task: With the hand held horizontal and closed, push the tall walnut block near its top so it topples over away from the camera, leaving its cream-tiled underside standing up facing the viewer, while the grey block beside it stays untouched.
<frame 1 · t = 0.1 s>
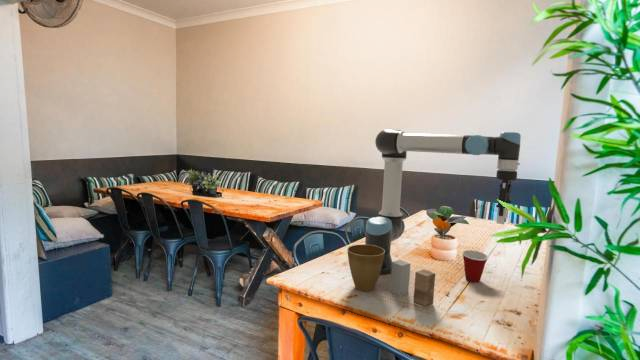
hand: (502, 220, 152), 28 cm above the table, tool pointing down, fingers open, 13 cm apart
grey block: (399, 292, 144), on the table
plastic cup: (472, 280, 160), on the table
plant pot: (363, 288, 147), on the table
walnut block: (423, 304, 134), on the table
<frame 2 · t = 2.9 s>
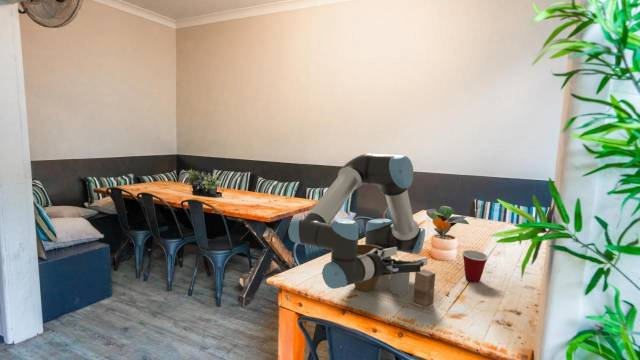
hand: (410, 255, 126), 20 cm above the table, tool horizontal, fingers open, 12 cm apart
nothing on the table moved.
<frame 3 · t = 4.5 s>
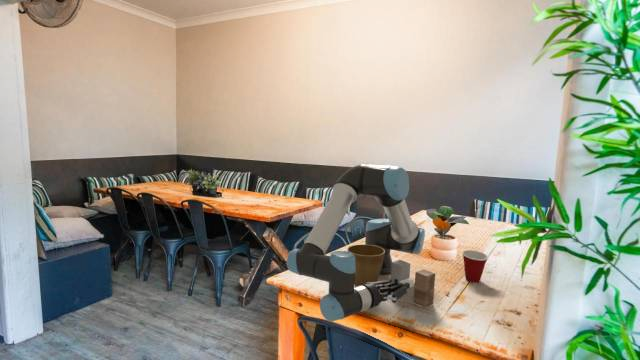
hand: (411, 282, 129), 10 cm above the table, tool horizontal, fingers closed
nothing on the table moved.
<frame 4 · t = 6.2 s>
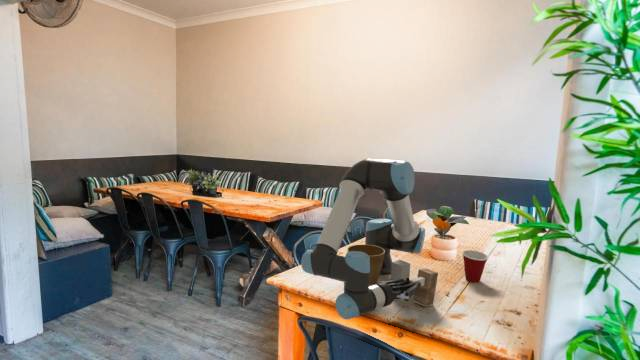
hand: (422, 280, 132), 9 cm above the table, tool horizontal, fingers closed
walnut block: (423, 303, 134), on the table, tilted 8°
everything else where it was.
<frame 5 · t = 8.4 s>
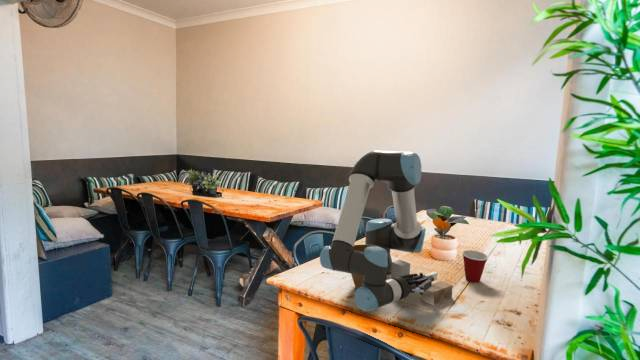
hand: (435, 275, 137), 9 cm above the table, tool horizontal, fingers closed
walnut block: (427, 296, 136), point 2 cm above the table, tilted 90°
everything else where it was.
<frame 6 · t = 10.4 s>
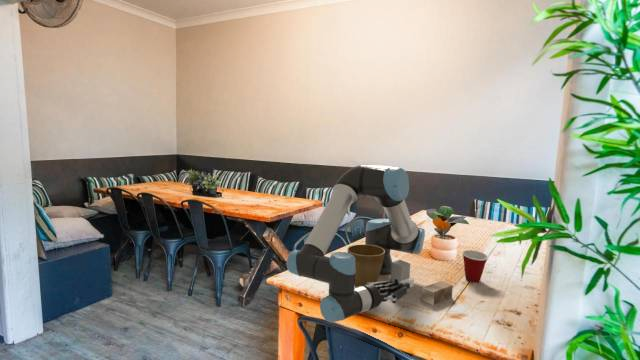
hand: (412, 282, 129), 10 cm above the table, tool horizontal, fingers closed
nothing on the table moved.
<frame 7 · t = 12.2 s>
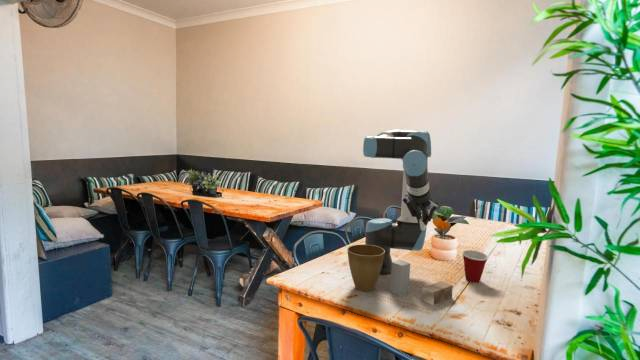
hand: (423, 227, 144), 26 cm above the table, tool tilted 45°, fingers closed
nothing on the table moved.
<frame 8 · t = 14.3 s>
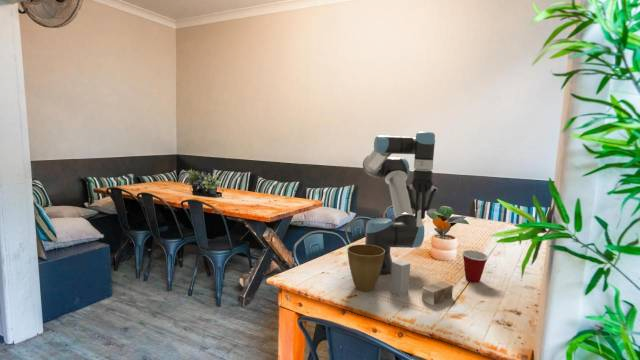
hand: (419, 226, 152), 24 cm above the table, tool pointing down, fingers closed
nothing on the table moved.
at the end: walnut block tilted 90°; walnut block inside the target area (1.9 cm from its centre), point 2.4 cm above the table; grey block moved 0.0 cm from its start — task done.
